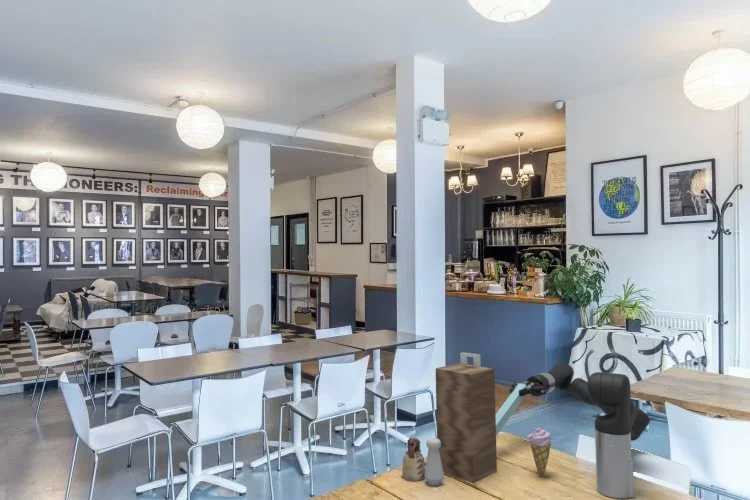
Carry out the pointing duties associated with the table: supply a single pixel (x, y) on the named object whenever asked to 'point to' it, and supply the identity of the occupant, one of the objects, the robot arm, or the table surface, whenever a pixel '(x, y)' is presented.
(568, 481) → the table surface
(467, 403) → the plinth
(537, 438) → the ice cream cone
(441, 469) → the salt shaker
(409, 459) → the figurine
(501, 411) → the peg
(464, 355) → the arch
